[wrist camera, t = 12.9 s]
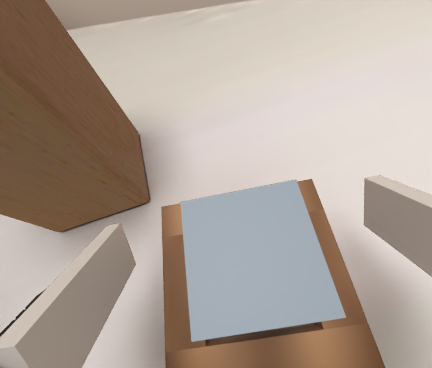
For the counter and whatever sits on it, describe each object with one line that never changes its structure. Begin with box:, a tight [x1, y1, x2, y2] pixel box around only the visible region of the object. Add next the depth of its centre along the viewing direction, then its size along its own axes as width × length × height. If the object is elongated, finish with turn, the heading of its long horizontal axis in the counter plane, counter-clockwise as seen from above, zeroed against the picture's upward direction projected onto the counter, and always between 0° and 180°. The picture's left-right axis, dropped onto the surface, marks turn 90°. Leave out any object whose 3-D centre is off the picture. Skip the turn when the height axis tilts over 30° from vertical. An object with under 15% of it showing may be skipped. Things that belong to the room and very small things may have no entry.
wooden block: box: [0, 0, 149, 232], centre depth 16 cm, size 10×10×20 cm
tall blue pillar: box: [180, 180, 346, 342], centre depth 12 cm, size 4×4×13 cm
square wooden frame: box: [162, 179, 385, 368], centre depth 16 cm, size 12×12×4 cm
